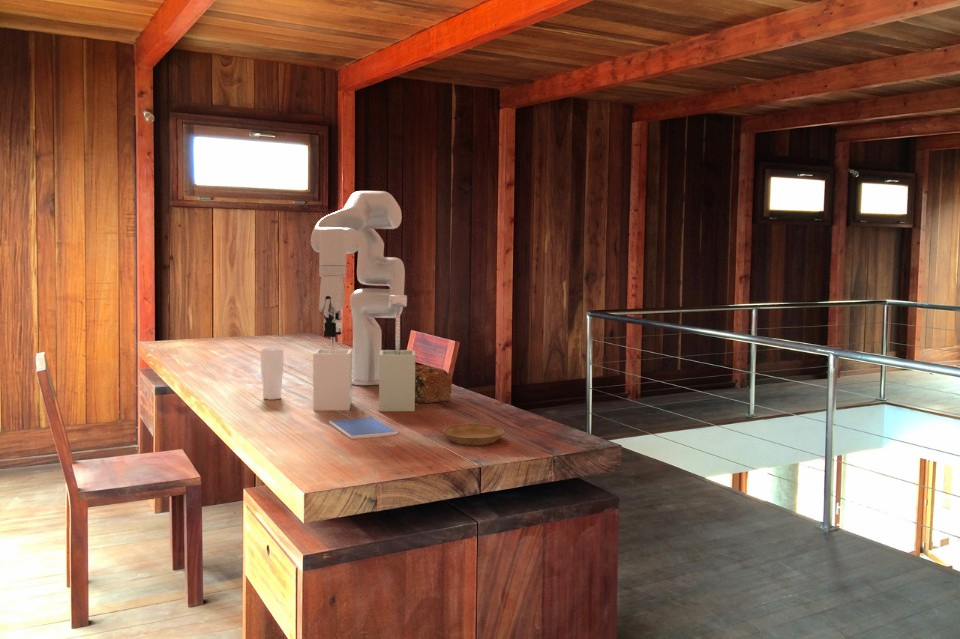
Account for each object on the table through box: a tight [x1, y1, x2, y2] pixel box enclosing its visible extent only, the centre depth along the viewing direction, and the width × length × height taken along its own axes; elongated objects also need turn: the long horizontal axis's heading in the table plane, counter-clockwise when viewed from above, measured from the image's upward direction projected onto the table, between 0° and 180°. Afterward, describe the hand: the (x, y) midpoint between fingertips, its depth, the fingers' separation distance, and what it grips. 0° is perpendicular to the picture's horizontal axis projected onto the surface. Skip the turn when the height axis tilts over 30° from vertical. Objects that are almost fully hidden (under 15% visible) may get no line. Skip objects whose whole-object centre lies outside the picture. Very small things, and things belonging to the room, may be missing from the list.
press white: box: [312, 348, 353, 411], centre depth 232 cm, size 10×10×16 cm
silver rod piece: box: [389, 294, 408, 355], centre depth 231 cm, size 8×8×21 cm
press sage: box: [378, 349, 416, 412], centre depth 232 cm, size 10×10×16 cm
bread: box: [415, 364, 453, 404], centre depth 248 cm, size 19×11×10 cm, turn 31°
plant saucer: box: [442, 423, 505, 446], centre depth 197 cm, size 15×15×3 cm
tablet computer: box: [328, 416, 399, 440], centre depth 207 cm, size 19×13×1 cm, turn 27°
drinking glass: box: [259, 347, 285, 401], centre depth 242 cm, size 7×7×15 cm
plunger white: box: [323, 319, 343, 354], centre depth 231 cm, size 8×8×21 cm
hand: (332, 334), depth 231 cm, fingers closed on plunger white, 5 cm apart
